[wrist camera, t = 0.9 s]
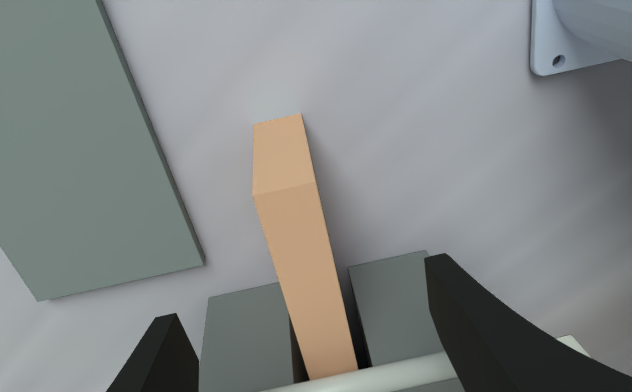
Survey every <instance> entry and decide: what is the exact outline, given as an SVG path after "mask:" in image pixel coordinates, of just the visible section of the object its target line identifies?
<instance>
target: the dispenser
mask: <svg viewBox="0 0 632 392" xmlns="http://www.w3.org/2000/svg"><path fill="white" fill-rule="evenodd" d="M426 257H429V255H428V253H427V251H426V250H424V251H419V252H415V253H410V254H406V255H401V256H397V257H392V258H388V259H383V260H379V261H374V262H370V263H365V264H360V265H356V266H351V267H348V269H349V274H350V279H351V284H352V289H353V293H354V298H355V303H356V308H357V313H358V317H359V322H360V327H361V332H362V337H363V341H364V346H365V351H366V356H367V361H368V365H369V368H365V369H361V370H356V371H352V372H347V373H342V374H338V375H333V376H329V377H324V378H319V379H315V380H310V379H309V376H308V373H307V369H306V366H305V363H304V360H303V356H302V353H301V350H300V347H299V344H298V340H297V337H296V334H295V331H294V328H293V324H292V321H291V318H290V315H289V311H288V308H287V305H286V302H285V299H284V295H283V292H282V289H281V286H280V283H274V284H270V285H265V286H261V287H256V288H252V289H247V290H243V291H238V292H234V293H229V294H224V295H220V296H215V297H211V298H209V299H208V307H207V315H206V323H205V330H204V338H203V346H202V354H201V361H200V369H199V392H465V390H464V388H463V386H462V384H461V382H460V380H459V378H458V376H457V374H456V372H455V370H454V368H453V366H452V364H451V362H450V360H449V358H448V356H447V354H446V352H445V350H444V348H443V346H442V344H441V341H440V339H439V336H438V333H437V331H436V328H435V325H434V322H433V319H432V317H431V314H430V311H429V304H428V294H427V284H426V274H425V264H424V258H426Z"/></svg>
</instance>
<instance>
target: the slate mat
mask: <svg viewBox="0 0 632 392" xmlns="http://www.w3.org/2000/svg"><path fill="white" fill-rule="evenodd" d="M0 247H1V248H2V250H3V251H4V253H5V254H6V256H7V257H8V259H9V260H10V262H11V263H12V265H13V266H14V267H15V269H16V270H17V272H18V273H19V275H20V276H21V278H22V279H23V281H24V282H25V284H26V285H27V287H28V288H29V290H30V291H31V293H32V294H33V296H34V297H35V299H36V300H37V302H39V301H44V300H48V299H53V298H57V297H62V296H67V295H71V294H76V293H80V292H85V291H89V290H94V289H98V288H103V287H107V286H112V285H116V284H121V283H125V282H130V281H134V280H139V279H143V278H148V277H152V276H157V275H161V274H166V273H170V272H175V271H179V270H184V269H188V268H193V267H197V266H202V265H204V260H205V256H204V254H203V251H202V249H201V246H200V244H199V241H198V239H197V236H196V234H195V232H194V229H193V227H192V224H191V222H190V219H189V217H188V214H187V212H186V209H185V207H184V204H183V202H182V199H181V197H180V194H179V192H178V189H177V187H176V184H175V182H174V179H173V177H172V175H171V172H170V170H169V167H168V165H167V162H166V160H165V157H164V155H163V152H162V150H161V147H160V145H159V142H158V140H157V137H156V135H155V132H154V130H153V127H152V125H151V122H150V120H149V117H148V115H147V113H146V110H145V108H144V105H143V103H142V100H141V98H140V95H139V93H138V90H137V88H136V85H135V83H134V80H133V78H132V75H131V73H130V70H129V68H128V65H127V63H126V60H125V58H124V56H123V53H122V51H121V48H120V46H119V43H118V41H117V38H116V36H115V33H114V31H113V28H112V26H111V23H110V21H109V18H108V16H107V13H106V11H105V8H104V6H103V3H102V1H101V0H0Z"/></svg>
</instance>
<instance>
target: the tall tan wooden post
mask: <svg viewBox="0 0 632 392" xmlns="http://www.w3.org/2000/svg"><path fill="white" fill-rule="evenodd" d="M252 196H253V199H254V202H255V205H256V209H257V212H258V215H259V218H260V221H261V225H262V228H263V231H264V234H265V238H266V241H267V244H268V247H269V250H270V254H271V257H272V260H273V263H274V266H275V270H276V273H277V276H278V279H279V283H280V286H281V289H282V292H283V295H284V299H285V302H286V305H287V308H288V311H289V315H290V318H291V321H292V324H293V328H294V331H295V334H296V337H297V340H298V344H299V347H300V350H301V353H302V356H303V360H304V363H305V366H306V369H307V373H308V376H309V379H310V380H315V379H319V378H324V377H329V376H333V375H338V374H342V373H347V372H352V371H356V370H358V365H357V360H356V356H355V351H354V347H353V342H352V337H351V333H350V328H349V324H348V319H347V315H346V310H345V306H344V301H343V297H342V292H341V288H340V284H339V279H338V275H337V270H336V266H335V261H334V257H333V253H332V248H331V244H330V239H329V235H328V230H327V226H326V221H325V217H324V213H323V208H322V204H321V199H320V195H319V190H318V186H317V182H316V177H315V173H314V168H313V164H312V159H311V155H310V150H309V146H308V142H307V137H306V133H305V128H304V124H303V119H302V115H301V114H296V115H292V116H287V117H283V118H279V119H274V120H270V121H265V122H261V123H256V124H254V148H253V195H252Z"/></svg>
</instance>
